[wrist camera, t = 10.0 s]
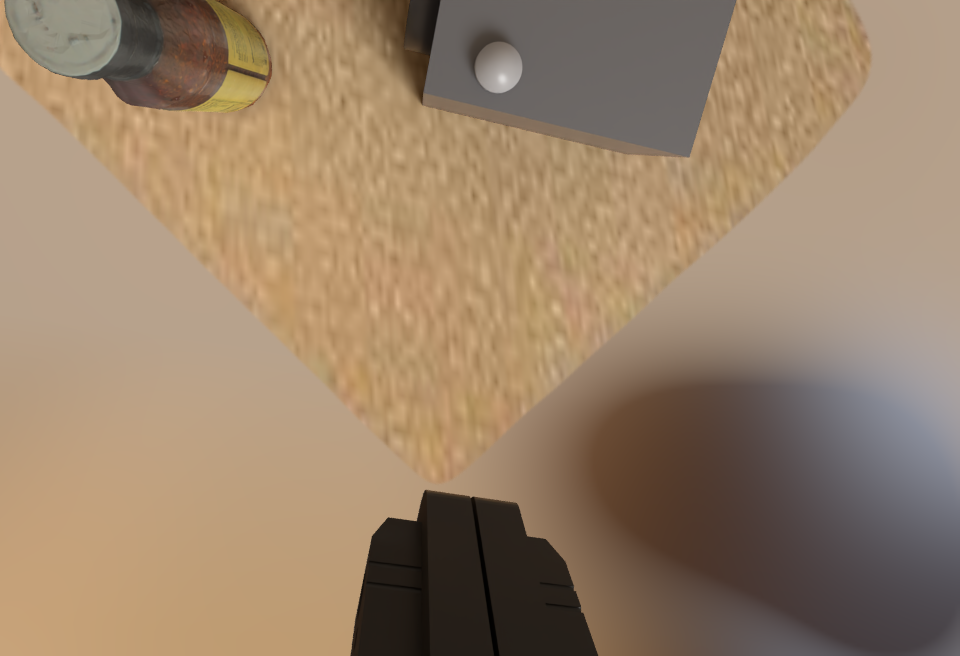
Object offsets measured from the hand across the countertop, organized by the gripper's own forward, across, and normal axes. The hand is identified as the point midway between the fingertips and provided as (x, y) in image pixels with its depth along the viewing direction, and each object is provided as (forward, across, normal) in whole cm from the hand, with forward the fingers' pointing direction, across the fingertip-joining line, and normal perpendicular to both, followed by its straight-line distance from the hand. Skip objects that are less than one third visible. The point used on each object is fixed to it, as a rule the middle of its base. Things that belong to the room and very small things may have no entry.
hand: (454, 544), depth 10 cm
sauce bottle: (+37, +15, -8) cm, 41 cm away
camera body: (+37, -6, -14) cm, 40 cm away
